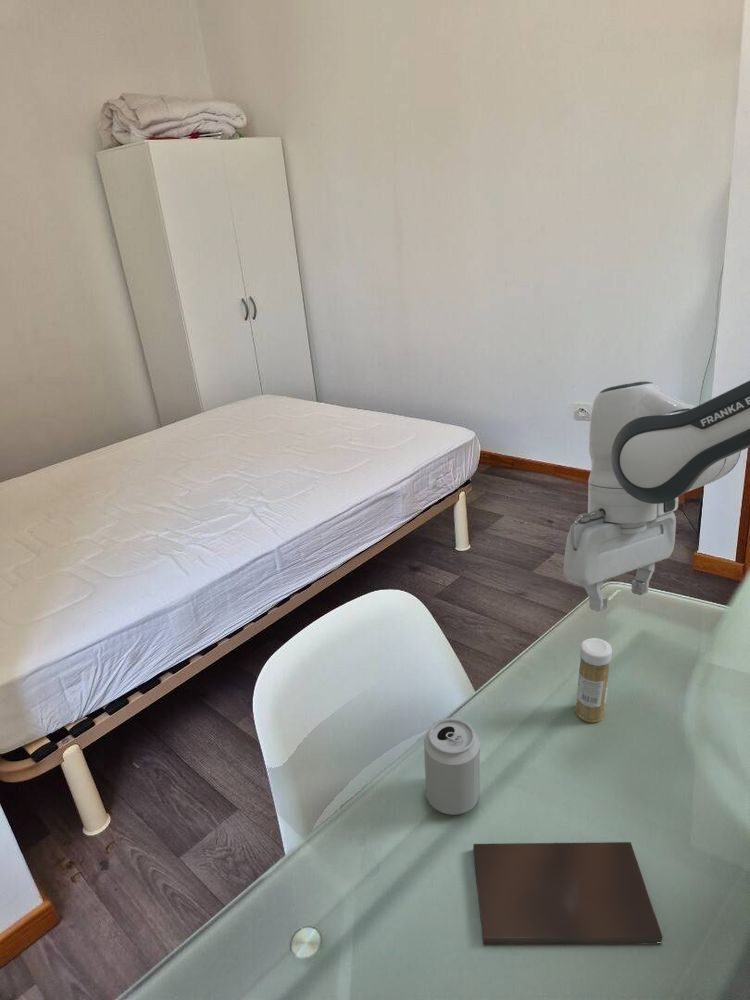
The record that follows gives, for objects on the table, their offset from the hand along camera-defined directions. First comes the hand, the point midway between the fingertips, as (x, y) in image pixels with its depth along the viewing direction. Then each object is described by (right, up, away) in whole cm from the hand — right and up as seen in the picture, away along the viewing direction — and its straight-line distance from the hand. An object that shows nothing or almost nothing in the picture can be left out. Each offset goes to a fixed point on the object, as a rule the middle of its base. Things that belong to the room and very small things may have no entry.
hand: (619, 601), depth 95 cm
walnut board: (-11, -34, -12) cm, 38 cm away
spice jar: (0, -20, +14) cm, 25 cm away
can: (-23, -28, +2) cm, 36 cm away
